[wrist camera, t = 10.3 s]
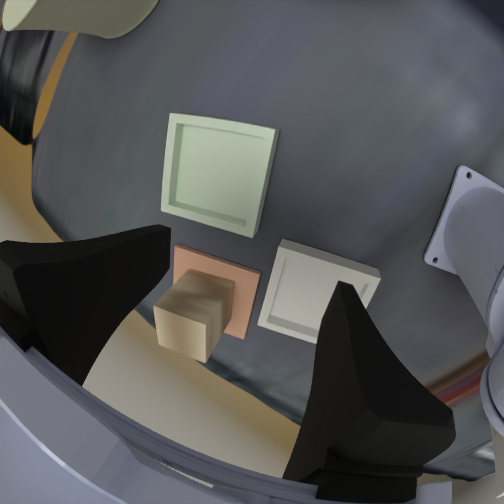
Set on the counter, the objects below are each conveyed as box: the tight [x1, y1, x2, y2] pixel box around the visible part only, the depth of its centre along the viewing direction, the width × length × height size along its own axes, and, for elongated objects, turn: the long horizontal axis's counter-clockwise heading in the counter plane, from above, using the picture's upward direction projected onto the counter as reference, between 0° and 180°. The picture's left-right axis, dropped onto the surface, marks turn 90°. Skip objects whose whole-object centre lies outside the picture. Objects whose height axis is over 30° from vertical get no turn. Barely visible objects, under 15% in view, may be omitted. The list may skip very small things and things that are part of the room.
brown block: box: [153, 268, 235, 363], centre depth 23 cm, size 4×4×6 cm
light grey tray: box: [257, 239, 381, 344], centre depth 22 cm, size 8×8×2 cm
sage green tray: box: [161, 113, 280, 238], centre depth 20 cm, size 8×8×2 cm
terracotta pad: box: [173, 244, 261, 339], centre depth 26 cm, size 8×8×1 cm
